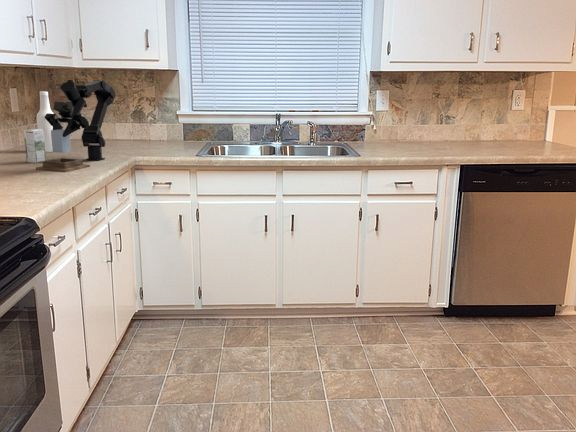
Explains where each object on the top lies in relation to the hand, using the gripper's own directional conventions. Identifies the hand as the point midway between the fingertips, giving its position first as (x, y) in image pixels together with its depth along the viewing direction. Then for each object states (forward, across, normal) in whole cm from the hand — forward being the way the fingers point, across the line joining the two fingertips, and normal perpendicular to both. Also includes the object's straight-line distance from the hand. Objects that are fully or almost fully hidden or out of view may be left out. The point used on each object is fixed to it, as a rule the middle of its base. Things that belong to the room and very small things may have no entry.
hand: (58, 136), depth 212 cm
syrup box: (+3, -22, +16) cm, 27 cm away
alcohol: (-18, -41, +37) cm, 58 cm away
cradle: (+9, 0, +10) cm, 14 cm away
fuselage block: (+4, 0, +6) cm, 7 cm away
